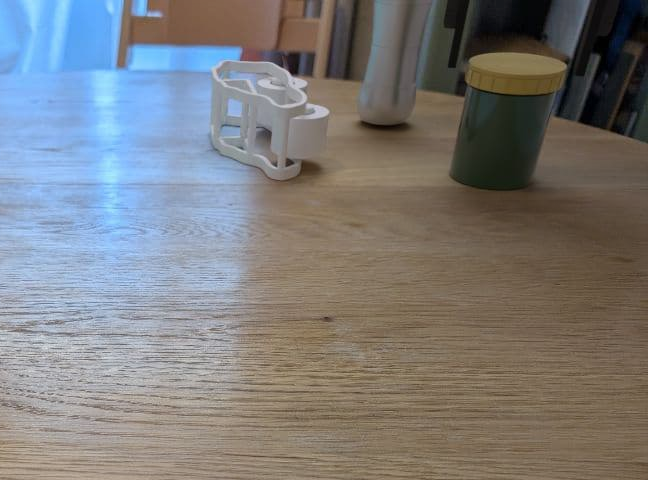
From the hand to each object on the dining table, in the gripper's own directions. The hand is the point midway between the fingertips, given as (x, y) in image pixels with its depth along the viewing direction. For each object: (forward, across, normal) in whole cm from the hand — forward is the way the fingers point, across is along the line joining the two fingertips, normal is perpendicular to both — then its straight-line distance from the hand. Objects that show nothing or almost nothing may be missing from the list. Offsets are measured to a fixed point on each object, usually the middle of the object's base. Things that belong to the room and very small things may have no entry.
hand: (513, 68), depth 81 cm
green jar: (+10, 0, 0) cm, 10 cm away
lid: (0, 0, 0) cm, 0 cm away
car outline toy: (+11, +24, -2) cm, 26 cm away
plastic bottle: (+11, +12, -15) cm, 22 cm away
